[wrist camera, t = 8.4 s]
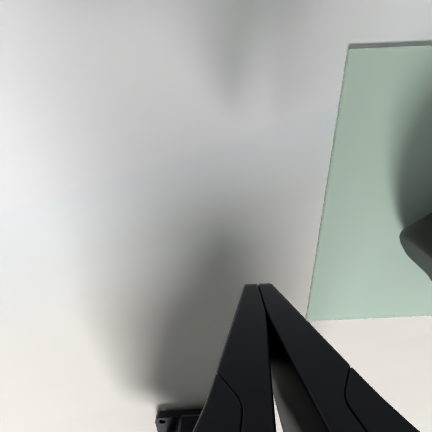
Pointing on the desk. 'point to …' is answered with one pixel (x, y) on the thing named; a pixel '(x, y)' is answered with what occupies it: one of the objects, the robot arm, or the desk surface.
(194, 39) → the desk surface
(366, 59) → the mat
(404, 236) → the end cap
